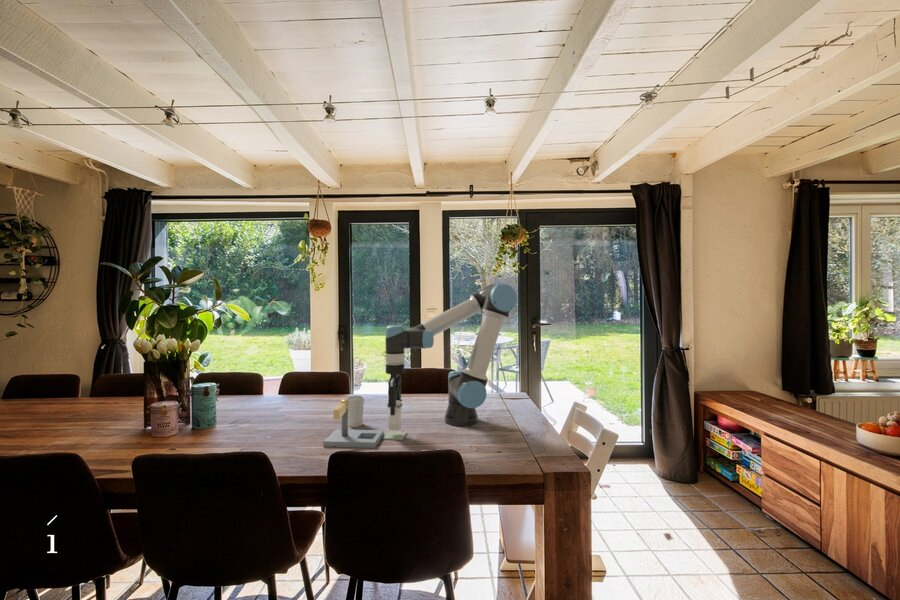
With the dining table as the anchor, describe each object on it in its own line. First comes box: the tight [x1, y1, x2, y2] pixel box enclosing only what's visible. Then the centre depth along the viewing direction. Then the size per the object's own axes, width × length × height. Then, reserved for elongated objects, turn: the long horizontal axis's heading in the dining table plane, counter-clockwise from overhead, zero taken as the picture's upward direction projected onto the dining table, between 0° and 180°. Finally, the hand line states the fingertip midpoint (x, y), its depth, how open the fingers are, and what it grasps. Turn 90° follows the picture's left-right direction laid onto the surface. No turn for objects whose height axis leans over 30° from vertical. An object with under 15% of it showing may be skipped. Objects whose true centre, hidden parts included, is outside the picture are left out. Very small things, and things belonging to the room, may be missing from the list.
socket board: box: [322, 411, 385, 449], centre depth 161 cm, size 20×14×12 cm
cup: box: [345, 395, 365, 428], centre depth 182 cm, size 8×8×12 cm
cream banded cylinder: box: [387, 400, 403, 431], centre depth 166 cm, size 6×6×11 cm
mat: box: [382, 430, 407, 441], centre depth 166 cm, size 8×8×1 cm
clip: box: [333, 398, 349, 420], centre depth 156 cm, size 14×3×4 cm, turn 0°
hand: (394, 420), depth 166 cm, fingers closed on cream banded cylinder, 6 cm apart
